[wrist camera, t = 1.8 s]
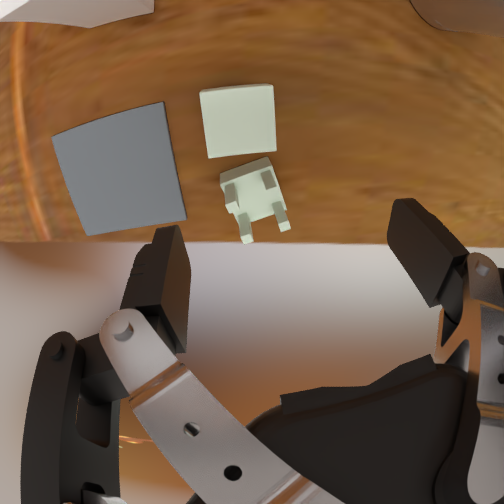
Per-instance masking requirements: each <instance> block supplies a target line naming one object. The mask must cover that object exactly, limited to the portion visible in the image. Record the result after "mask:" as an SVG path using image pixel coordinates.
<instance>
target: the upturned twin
mask: <svg viewBox="0 0 504 504" xmlns="http://www.w3.org/2000/svg"><path fill="white" fill-rule="evenodd" d="M220 185H221V188H222V190H223V192H224V194H225V205H226V208H227V210H228V212H229V214H230V213H233V214H234V216H235V218H236V220H237V222H238V224H239V229H240V237H241V239H242V242H243V244H244V245H245V244H248V243H250V242H253V241H254V240H253V235H252V229H251V224H250V222H253V221H256V220H258V219H261V218H264V217H267V216H270V215H273V214H275V216H276V219H277V222H278V225H279V228H280V230H281V232H283V231H286V230H289V229H291V228H290V224H289V221H288V219H287V216H286V214H285V210H287V209H286V206H285V203H284V200H283V197H282V194H281V191H280V188H279V185H278V182H277V179H276V176H275V173H274V170H273V167H272V164H271V162H270V160H269V158H268V156H267V157H264V158H261V159H258V160H255V161H253V162H250V163H247V164H244V165H241V166H239V167H236V168H233V169H231V170H228V171H225V172H223V173H220Z"/></svg>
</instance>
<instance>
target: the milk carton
mask: <svg viewBox="0 0 504 504" xmlns="http://www.w3.org/2000/svg"><path fill="white" fill-rule="evenodd" d="M153 12H154V0H0V22H7V21H22V22H44V23H55V24H64V25H72V26H79V27H85V28H93V27H96V26H99V25H103V24H106V23H110V22H114V21H117V20H121V19H125V18H130V17H134V16H139V15H144V14H149V13H153Z"/></svg>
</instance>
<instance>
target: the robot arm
mask: <svg viewBox="0 0 504 504" xmlns="http://www.w3.org/2000/svg"><path fill="white" fill-rule="evenodd" d="M410 1H411V3H412V5H413V6H414V8H415V9H416V11H417V12H418V13H419V15H420V16H421V17H422V18H423V19H424V20H425V21H426V22H427V23H429V24H430V25H432V26H433V27H435V28H437V29H440V30H448V31H456V32H457V31H460V32H469V33H477V34H484V35H490V36H496V37H501V38H504V0H410ZM387 241H388V245H389V247H390V249H391V250H392V251H393V253H394V254H395V256H396V257H397V259H398V260H399V261H400V263H401V264H402V266H403V267H404V269H405V270H406V272H407V273H408V275H409V276H410V278H411V279H412V281H413V282H414V284H415V285H416V287H417V288H418V290H419V291H420V293H421V294H422V296H423V298H424V299H425V301H426V303H427V304H428V306H429V307H430V308H431V307H434V306H436V305H440V304H441V305H442V306H443V307H442V309H441V311H440V314H439V323H438V332H437V340H436V346H435V352H434V356H433V359H432V357H431V355H430V354H429V355H426V356H424V357H421V358H418V359H416V360H413V361H410V362H407V363H405V364H402V365H399V366H398V367H397V368H395V369H394V370H392V371H391V372H389V373H387V374H386V375H384V376H383V377H381V378H380V379H378V380H377V381H375V382H373V383H372V384H370V385H367V386H359V387H320V388H315V389H310V390H305V391H300V392H294V393H289V394H283V395H280V405H278V406H275V407H273V408H271V409H269V410H267V411H265V412H263V413H262V414H260V415H259V416H257V417H256V418H254V419H253V420H252V421H251V422H250V423H248V424H247V425H246V426H245V427H244V426H243V425H242V424H240V423H239V422H238V421H237V420H236V419H235V418H234V417H233V416H232V415H231V414H230V413H229V412H228V411H227V410H226V409H225V408H224V407H223V406H222V405H221V404H220V403H219V402H218V401H217V400H216V399H215V397H214V396H213V395H212V394H211V393H210V392H209V391H208V390H207V389H206V388H205V387H204V386H203V385H202V384H201V382H200V381H199V380H198V379H197V378H196V377H195V376H194V375H193V374H192V372H190V370H189V369H188V368H187V367H186V366H185V365H184V364H183V363H182V364H181V363H180V362H179V361H178V360H177V358H176V357H175V354H176V353H186V344H187V325H188V310H189V295H190V283H191V267H190V262H189V257H188V254H187V251H186V248H185V244H184V241H183V237H182V234H181V231H180V228H179V226H178V225H174V226H168V227H162V228H157V229H156V231H155V235H154V238H153V241H152V244H145V245H144V246H143V247H142V249H141V250H140V251H139V252H138V254H137V255H136V257H135V260H134V264H133V268H132V269H131V273H130V277H129V279H128V282H127V285H126V289H125V292H124V296H123V299H122V303H121V306H120V310H119V311H117V312H115V313H113V314H112V315H110V316H109V317H108V318H107V319H106V320H105V321H104V323H103V324H102V326H101V329H100V333H98V334H95V335H93V336H90V337H87V338H84V339H81V340H79V341H77V340H76V339H75V338H74V337H73V336H72V335H71V334H70V333H68V332H65V331H63V332H58V333H55V334H53V335H52V336H51V337H49V338H48V339H47V341H46V342H45V343H44V345H43V347H42V350H41V352H40V355H39V359H38V363H37V366H36V370H35V374H34V379H33V383H32V387H31V392H30V397H29V402H28V407H27V413H26V420H25V427H24V435H23V444H22V456H21V504H127V503H126V502H125V501H123V500H122V499H121V498H120V483H119V414H120V399H122V398H126V397H129V396H130V397H131V399H130V400H129V404H130V406H131V408H132V410H133V411H134V413H135V415H136V416H137V418H138V419H139V421H140V422H141V424H142V425H143V427H144V428H145V430H146V431H147V433H148V434H149V436H150V437H151V438H152V440H153V441H154V443H155V444H156V445H157V447H158V448H159V449H160V451H161V452H162V453H163V455H164V456H165V457H166V458H167V460H168V461H169V462H170V463H171V464H172V466H173V467H174V468H175V470H176V471H177V472H178V473H179V474H180V475H181V477H183V479H184V480H185V481H186V482H187V483H188V484H189V486H190V487H191V488H192V489H193V490H194V491H195V493H194V495H193V496H192V497H191V498H190V500H189V501H188V502H187V503H186V504H504V268H497V266H496V265H495V263H494V262H493V261H492V260H491V259H490V258H489V257H487V256H485V255H483V254H481V253H476V252H474V253H471V254H470V253H469V252H468V250H467V249H466V248H465V247H464V246H463V245H462V244H461V243H460V241H459V240H458V239H457V238H456V237H455V236H454V235H453V234H452V233H451V232H449V230H448V229H447V228H446V227H445V225H443V223H442V222H441V221H440V220H439V219H438V218H437V217H436V216H434V215H433V214H431V213H429V212H428V211H427V210H426V209H425V208H424V207H423V206H422V205H421V204H420V203H418V202H417V201H416V200H415V199H414V198H404V199H396V200H395V201H394V203H393V207H392V212H391V217H390V222H389V226H388V231H387ZM78 398H79V402H78ZM77 405H78V410H77ZM76 414H77V420H76Z"/></svg>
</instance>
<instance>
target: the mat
mask: <svg viewBox="0 0 504 504" xmlns="http://www.w3.org/2000/svg"><path fill="white" fill-rule="evenodd" d="M51 138H52V141H53V145H54V148H55V152H56V155H57V158H58V161H59V165H60V168H61V171H62V174H63V177H64V179H65V182H66V185H67V188H68V191H69V193H70V196H71V199H72V201H73V204H74V206H75V209H76V211H77V214H78V216H79V219H80V221H81V223H82V226H83V228H84V230H85V232H86V235H87V236H91V235H96V234H102V233H107V232H113V231H119V230H125V229H130V228H137V227H143V226H149V225H155V224H162V223H169V222H175V221H182V220H187V214H186V210H185V206H184V201H183V197H182V192H181V188H180V183H179V178H178V174H177V169H176V164H175V159H174V154H173V149H172V144H171V138H170V133H169V127H168V122H167V116H166V110H165V104H164V102H159V103H154V104H150V105H146V106H142V107H138V108H134V109H130V110H127V111H123V112H120V113H116V114H113V115H110V116H106V117H103V118H100V119H97V120H94V121H91V122H88V123H85V124H83V125H80V126H77V127H74V128H72V129H69V130H67V131H64V132H62V133H59V134H57V135H54V136H53V137H51Z"/></svg>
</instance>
